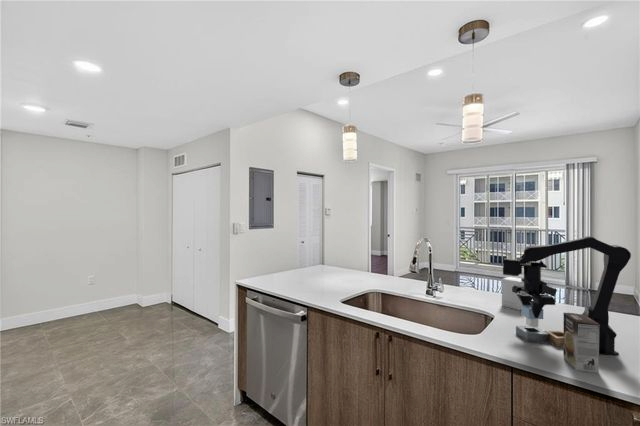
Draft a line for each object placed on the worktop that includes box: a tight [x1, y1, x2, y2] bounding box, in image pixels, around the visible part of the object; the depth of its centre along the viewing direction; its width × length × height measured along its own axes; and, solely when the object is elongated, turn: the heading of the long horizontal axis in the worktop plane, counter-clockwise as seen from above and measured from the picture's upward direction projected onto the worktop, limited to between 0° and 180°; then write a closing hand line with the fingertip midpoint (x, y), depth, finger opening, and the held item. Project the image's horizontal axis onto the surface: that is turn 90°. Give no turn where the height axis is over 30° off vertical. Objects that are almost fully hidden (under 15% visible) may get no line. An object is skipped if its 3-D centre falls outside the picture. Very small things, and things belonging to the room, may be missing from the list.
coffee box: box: [562, 312, 600, 374], centre depth 102 cm, size 9×6×16 cm
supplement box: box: [501, 276, 524, 311], centre depth 162 cm, size 9×9×15 cm
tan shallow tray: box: [543, 330, 564, 348], centre depth 119 cm, size 7×7×3 cm
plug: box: [520, 305, 544, 328], centre depth 123 cm, size 5×6×8 cm
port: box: [515, 325, 550, 343], centre depth 123 cm, size 8×8×3 cm
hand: (532, 315), depth 123 cm, fingers closed on plug, 5 cm apart
